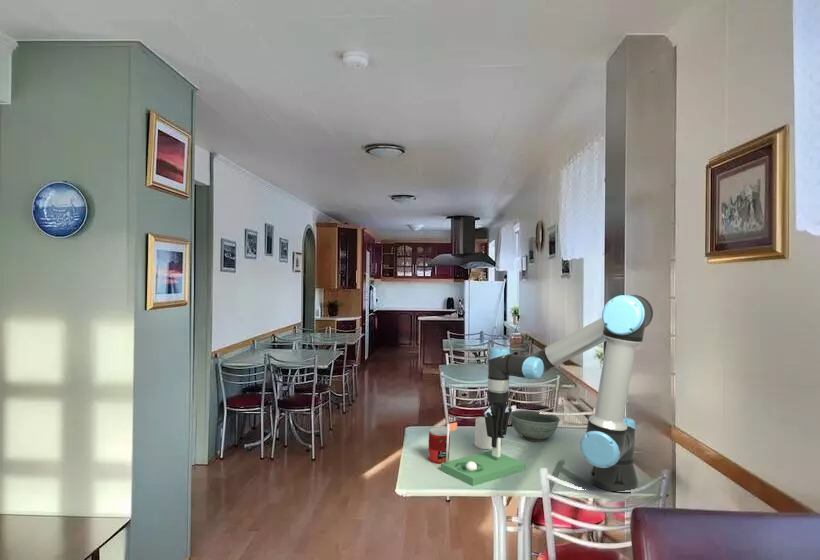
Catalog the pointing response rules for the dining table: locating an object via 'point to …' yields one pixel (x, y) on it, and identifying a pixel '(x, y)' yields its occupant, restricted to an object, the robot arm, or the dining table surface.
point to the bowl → (534, 424)
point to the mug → (482, 435)
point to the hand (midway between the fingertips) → (496, 455)
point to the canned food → (438, 445)
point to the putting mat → (480, 465)
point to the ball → (471, 466)
